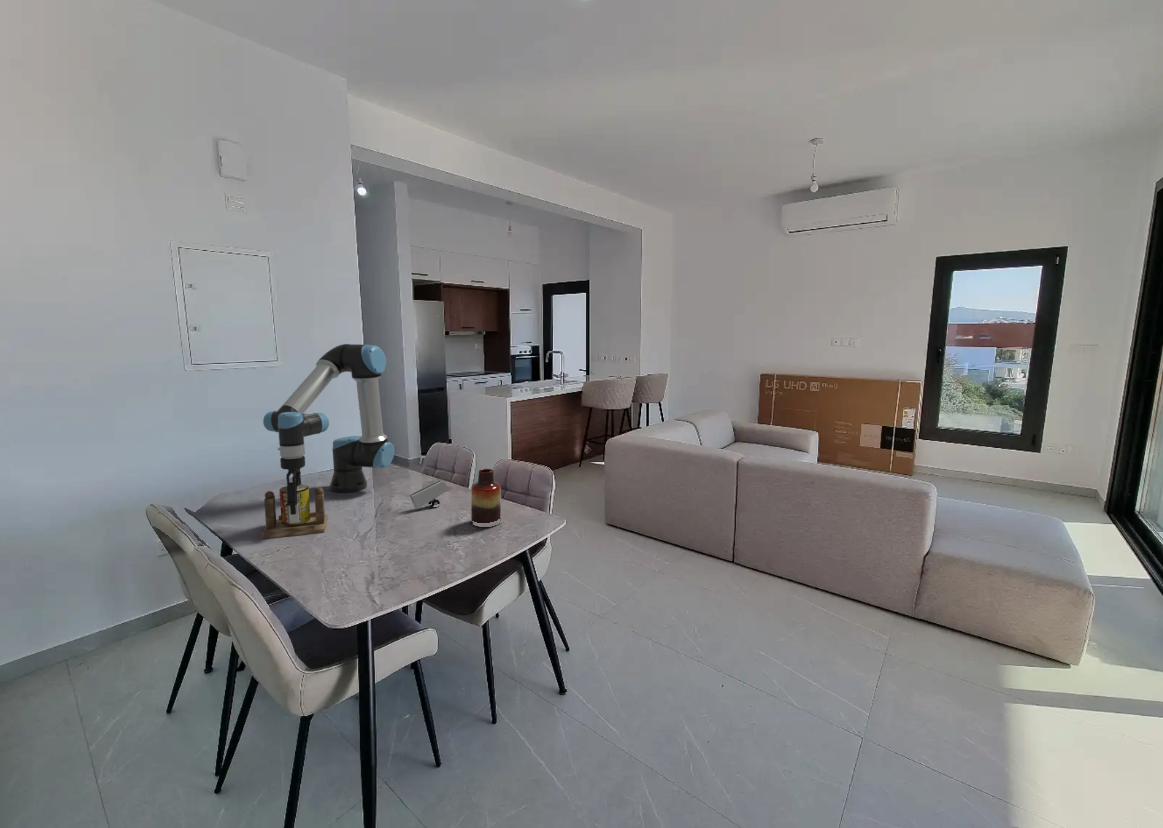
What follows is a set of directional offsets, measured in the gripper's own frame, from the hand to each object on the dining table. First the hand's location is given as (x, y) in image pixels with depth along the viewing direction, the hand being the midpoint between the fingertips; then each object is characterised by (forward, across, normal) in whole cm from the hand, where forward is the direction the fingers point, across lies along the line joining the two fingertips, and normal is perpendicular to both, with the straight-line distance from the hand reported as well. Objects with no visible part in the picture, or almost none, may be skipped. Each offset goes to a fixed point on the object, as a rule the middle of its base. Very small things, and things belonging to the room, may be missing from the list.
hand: (296, 517), depth 183 cm
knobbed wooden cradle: (+4, 0, 0) cm, 4 cm away
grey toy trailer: (+2, -6, +41) cm, 41 cm away
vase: (+4, +15, +65) cm, 67 cm away
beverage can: (+1, 0, 0) cm, 1 cm away
